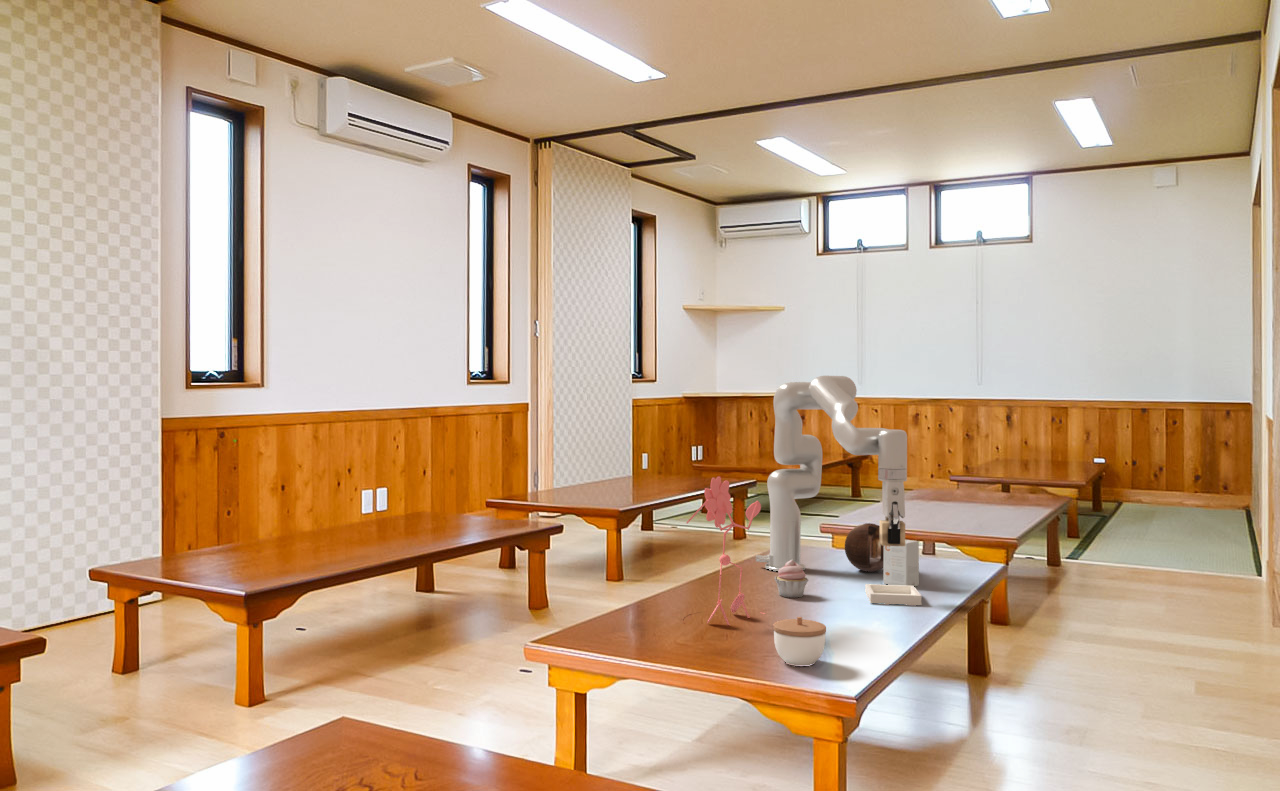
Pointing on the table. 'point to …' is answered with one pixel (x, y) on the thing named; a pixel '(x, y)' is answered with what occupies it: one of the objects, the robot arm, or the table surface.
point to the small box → (901, 564)
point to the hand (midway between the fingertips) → (892, 541)
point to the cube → (884, 533)
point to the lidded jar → (799, 640)
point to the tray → (893, 594)
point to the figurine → (717, 510)
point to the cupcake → (791, 580)
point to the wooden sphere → (865, 547)
